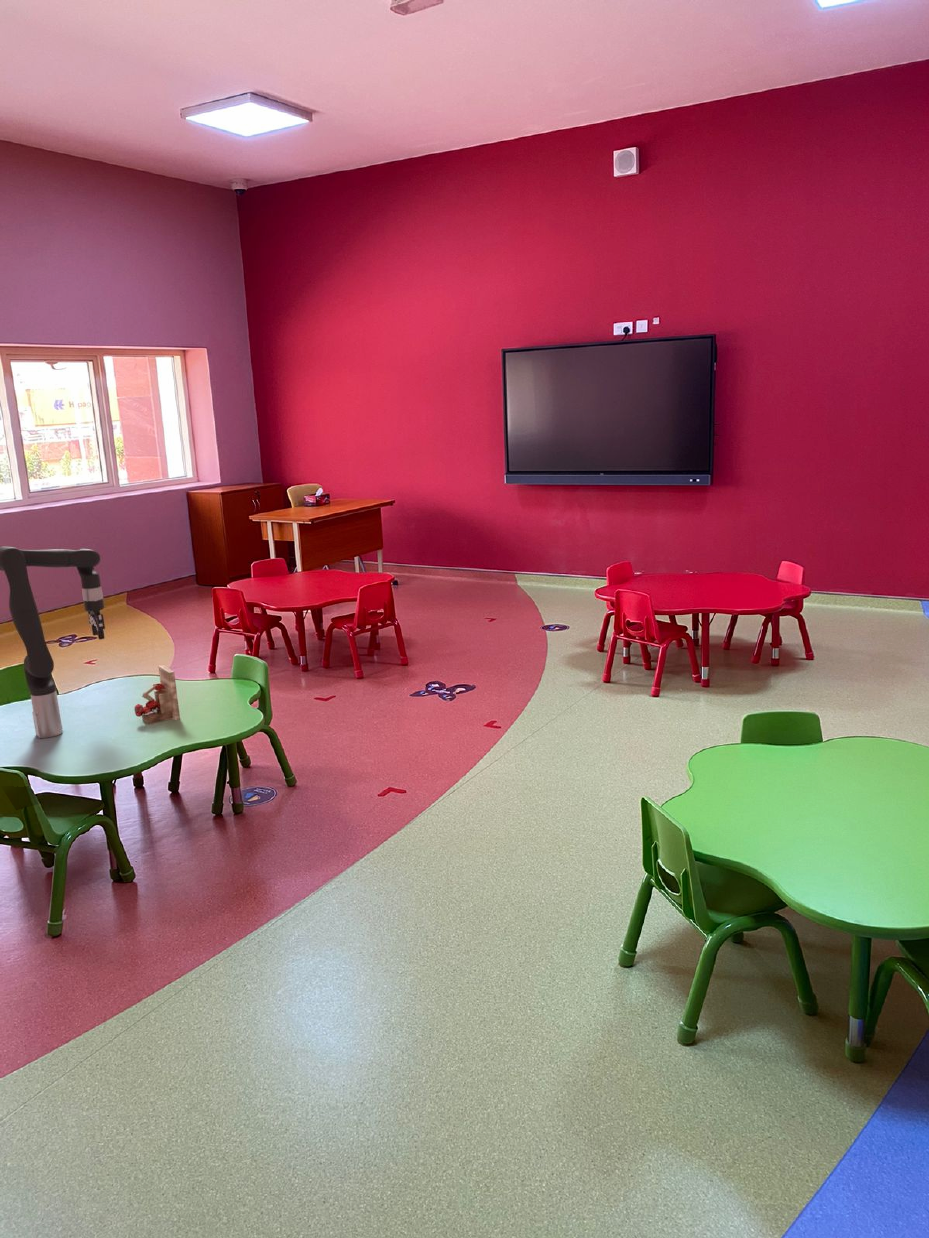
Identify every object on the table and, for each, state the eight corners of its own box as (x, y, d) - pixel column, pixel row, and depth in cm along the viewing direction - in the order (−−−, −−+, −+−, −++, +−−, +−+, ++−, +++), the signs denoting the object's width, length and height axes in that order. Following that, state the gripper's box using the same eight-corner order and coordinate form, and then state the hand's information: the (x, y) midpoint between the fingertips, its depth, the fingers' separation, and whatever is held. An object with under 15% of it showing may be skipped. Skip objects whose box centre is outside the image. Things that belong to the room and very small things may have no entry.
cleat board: (150, 726, 364) (144, 678, 359) (140, 717, 374) (133, 671, 369) (180, 719, 370) (174, 671, 366) (169, 710, 381) (163, 664, 376)
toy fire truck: (134, 716, 366) (128, 694, 363) (165, 703, 376) (159, 681, 373) (139, 718, 364) (133, 695, 361) (169, 704, 373) (163, 683, 370)
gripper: (78, 596, 372) (84, 635, 376) (88, 602, 361) (93, 642, 365) (97, 594, 376) (103, 632, 380) (107, 599, 365) (113, 638, 369)
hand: (98, 637), depth 373 cm, fingers open, 8 cm apart
